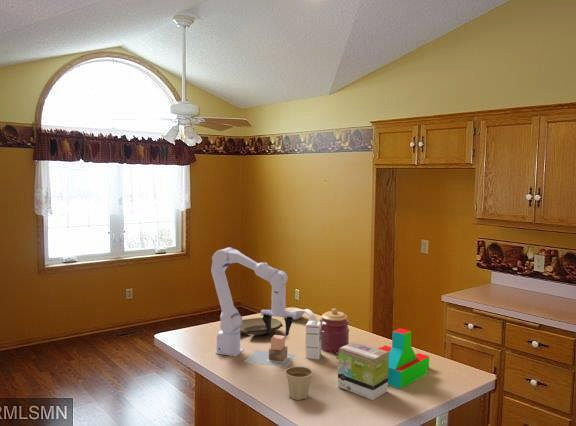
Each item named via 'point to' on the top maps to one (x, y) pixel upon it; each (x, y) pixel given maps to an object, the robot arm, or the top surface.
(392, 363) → the building blocks toy
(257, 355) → the mat
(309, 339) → the syrup box
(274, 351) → the walnut block
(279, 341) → the terracotta block
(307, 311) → the spoon rest
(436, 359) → the top surface
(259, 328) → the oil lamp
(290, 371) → the flower pot
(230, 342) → the robot arm
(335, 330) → the canister
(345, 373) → the tea box
